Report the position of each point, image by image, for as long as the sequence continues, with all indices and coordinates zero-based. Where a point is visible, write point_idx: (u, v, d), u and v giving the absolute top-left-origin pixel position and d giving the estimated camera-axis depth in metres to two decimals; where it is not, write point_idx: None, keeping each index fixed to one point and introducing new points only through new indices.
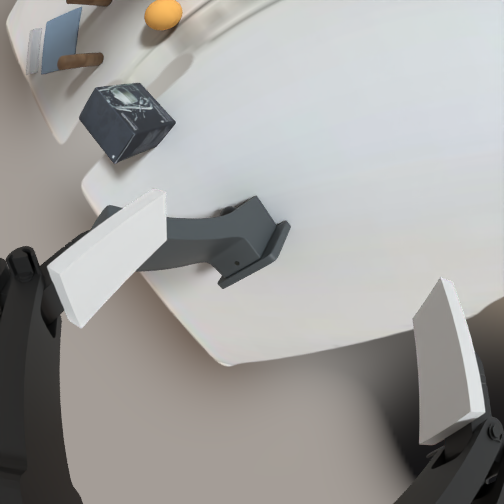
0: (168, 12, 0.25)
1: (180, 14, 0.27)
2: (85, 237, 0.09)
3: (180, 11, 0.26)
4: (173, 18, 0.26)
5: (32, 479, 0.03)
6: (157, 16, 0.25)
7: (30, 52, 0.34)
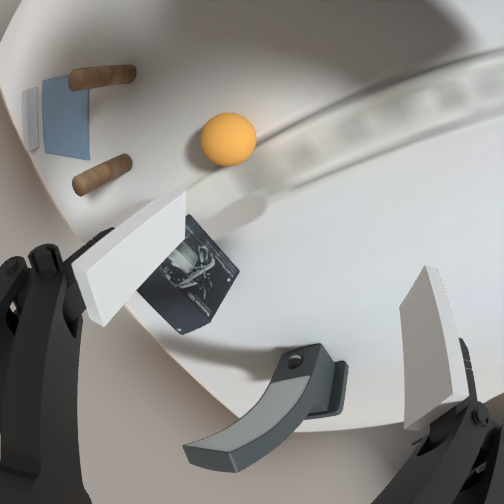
0: (242, 149, 0.25)
1: None
2: (109, 235, 0.09)
3: (255, 141, 0.26)
4: (247, 157, 0.26)
5: (45, 483, 0.03)
6: (225, 154, 0.25)
7: (26, 122, 0.33)
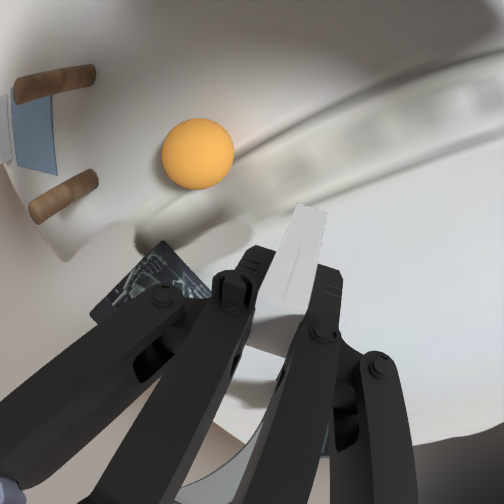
0: (212, 169, 0.18)
1: (232, 161, 0.20)
2: (278, 256, 0.09)
3: (232, 156, 0.20)
4: (220, 177, 0.20)
5: None
6: (190, 177, 0.18)
7: None
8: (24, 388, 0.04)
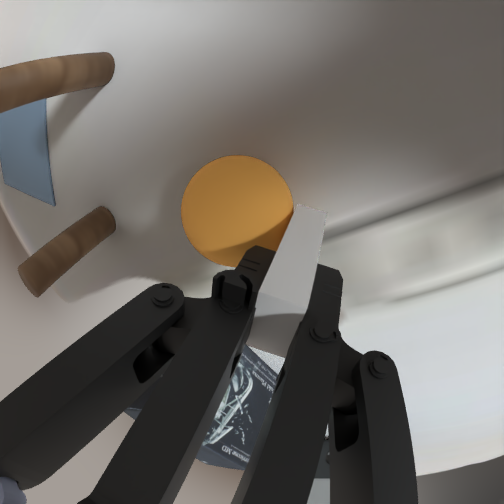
0: (208, 243, 0.12)
1: None
2: (278, 256, 0.09)
3: (260, 239, 0.12)
4: (231, 262, 0.13)
5: None
6: (189, 238, 0.13)
7: None
8: (24, 388, 0.04)
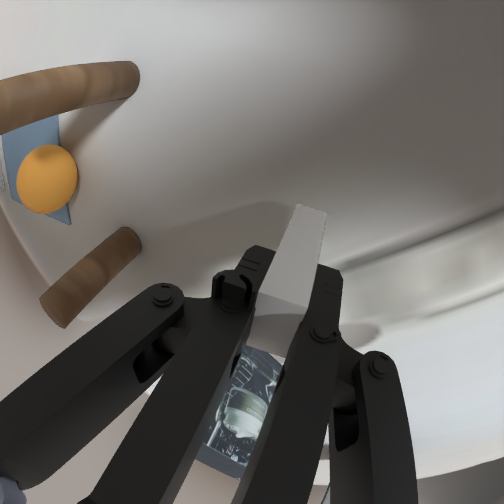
0: None
1: (25, 198, 0.15)
2: (277, 256, 0.09)
3: (22, 192, 0.15)
4: None
5: None
6: None
7: None
8: (23, 388, 0.04)
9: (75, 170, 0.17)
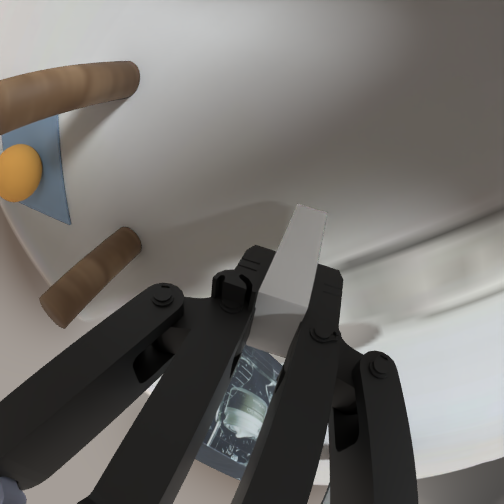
0: None
1: None
2: (277, 256, 0.09)
3: None
4: None
5: None
6: None
7: None
8: (23, 388, 0.04)
9: None
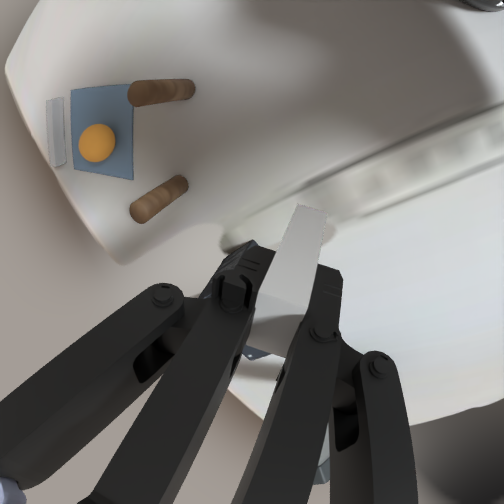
0: None
1: None
2: (277, 256, 0.09)
3: None
4: None
5: None
6: None
7: (52, 135, 0.34)
8: (24, 388, 0.04)
9: (82, 145, 0.30)
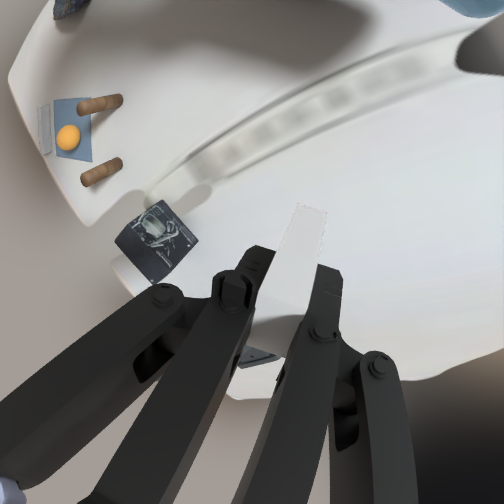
0: None
1: None
2: (278, 256, 0.09)
3: None
4: None
5: None
6: None
7: (41, 132, 0.46)
8: (24, 388, 0.04)
9: (58, 139, 0.42)
